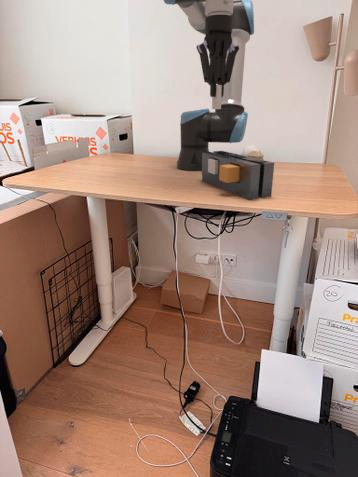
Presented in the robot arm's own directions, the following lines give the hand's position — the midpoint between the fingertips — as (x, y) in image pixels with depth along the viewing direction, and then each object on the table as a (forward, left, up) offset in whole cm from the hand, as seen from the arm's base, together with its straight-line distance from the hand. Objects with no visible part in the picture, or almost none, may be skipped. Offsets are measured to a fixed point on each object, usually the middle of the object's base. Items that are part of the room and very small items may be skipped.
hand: (216, 108), depth 100 cm
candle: (+1, +21, -25) cm, 32 cm away
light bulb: (-6, +28, -25) cm, 38 cm away
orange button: (+8, -2, -20) cm, 22 cm away
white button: (-3, +4, -20) cm, 21 cm away
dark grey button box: (+4, +5, -24) cm, 25 cm away
